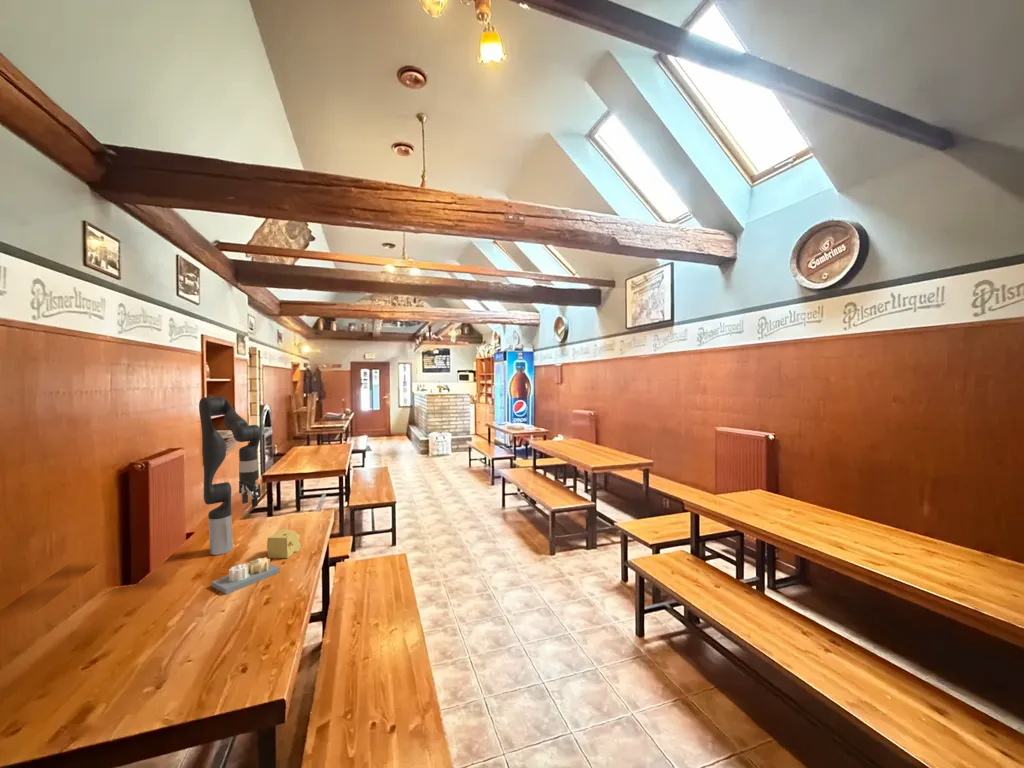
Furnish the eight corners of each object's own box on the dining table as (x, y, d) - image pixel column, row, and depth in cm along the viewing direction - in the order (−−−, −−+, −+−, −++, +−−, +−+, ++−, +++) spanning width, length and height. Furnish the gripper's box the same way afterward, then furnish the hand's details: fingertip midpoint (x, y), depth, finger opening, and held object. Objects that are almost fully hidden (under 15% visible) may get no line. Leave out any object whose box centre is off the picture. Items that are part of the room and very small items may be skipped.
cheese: (301, 549, 207) (300, 529, 207) (287, 559, 196) (286, 538, 196) (281, 549, 208) (280, 528, 208) (266, 558, 197) (265, 537, 197)
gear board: (212, 586, 172) (211, 569, 172) (265, 565, 190) (264, 550, 189) (226, 594, 165) (225, 576, 165) (279, 572, 183) (279, 556, 183)
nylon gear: (226, 578, 174) (226, 568, 174) (243, 571, 179) (243, 562, 179) (234, 582, 170) (234, 572, 170) (251, 575, 176) (250, 566, 176)
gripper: (232, 469, 192) (233, 504, 192) (247, 473, 184) (249, 510, 185) (249, 465, 198) (250, 499, 199) (265, 469, 190) (266, 505, 191)
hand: (250, 504), depth 192 cm, fingers open, 8 cm apart
